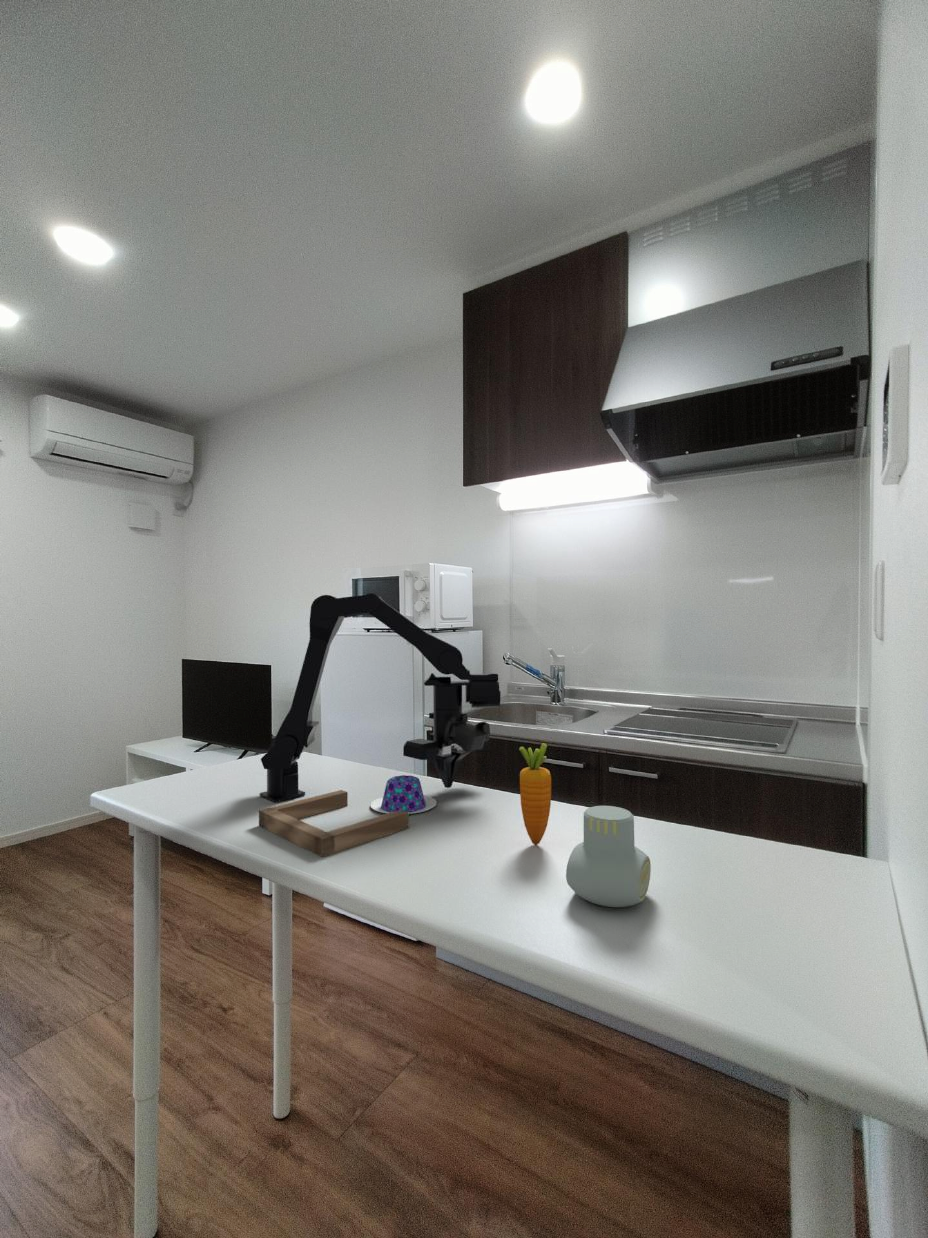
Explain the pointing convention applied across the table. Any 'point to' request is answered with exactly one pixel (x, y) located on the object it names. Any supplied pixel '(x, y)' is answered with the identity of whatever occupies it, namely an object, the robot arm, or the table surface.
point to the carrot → (535, 793)
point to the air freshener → (609, 860)
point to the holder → (326, 843)
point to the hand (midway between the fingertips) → (448, 787)
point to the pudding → (403, 796)
